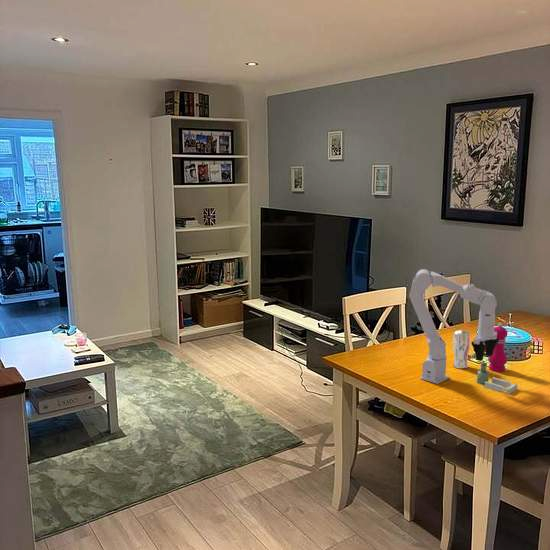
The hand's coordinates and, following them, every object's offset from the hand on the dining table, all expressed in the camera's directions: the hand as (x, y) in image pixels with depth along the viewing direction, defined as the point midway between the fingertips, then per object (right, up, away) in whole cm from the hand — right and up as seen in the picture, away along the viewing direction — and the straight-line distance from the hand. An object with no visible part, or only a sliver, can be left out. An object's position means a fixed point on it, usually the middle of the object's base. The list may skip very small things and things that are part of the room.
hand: (484, 358), depth 212 cm
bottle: (0, -10, +2) cm, 10 cm away
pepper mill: (+11, -7, +16) cm, 21 cm away
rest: (+5, -11, -3) cm, 12 cm away
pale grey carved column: (-3, -7, +19) cm, 21 cm away
